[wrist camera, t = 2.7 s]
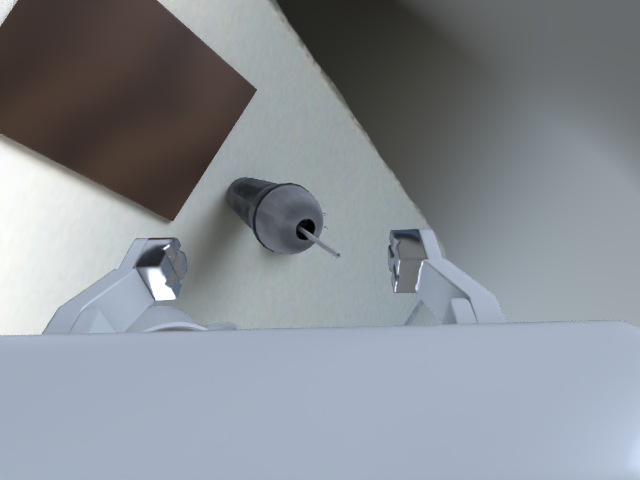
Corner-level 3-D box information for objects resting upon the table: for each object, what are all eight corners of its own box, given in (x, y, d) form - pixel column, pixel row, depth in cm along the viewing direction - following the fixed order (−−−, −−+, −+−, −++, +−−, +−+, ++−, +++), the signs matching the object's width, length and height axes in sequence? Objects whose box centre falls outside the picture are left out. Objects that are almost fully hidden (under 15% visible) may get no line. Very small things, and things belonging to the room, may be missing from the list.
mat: (-51, 106, 30) (-53, 106, 29) (70, -75, 30) (69, -79, 30) (171, 219, 42) (172, 221, 42) (254, 89, 43) (257, 89, 42)
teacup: (229, 337, 51) (257, 380, 43) (113, 387, 45) (121, 449, 37) (211, 262, 46) (239, 295, 38) (77, 304, 40) (78, 356, 32)
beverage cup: (254, 154, 45) (350, 184, 29) (280, 202, 49) (377, 251, 33) (204, 186, 43) (279, 238, 27) (235, 233, 47) (316, 301, 31)
